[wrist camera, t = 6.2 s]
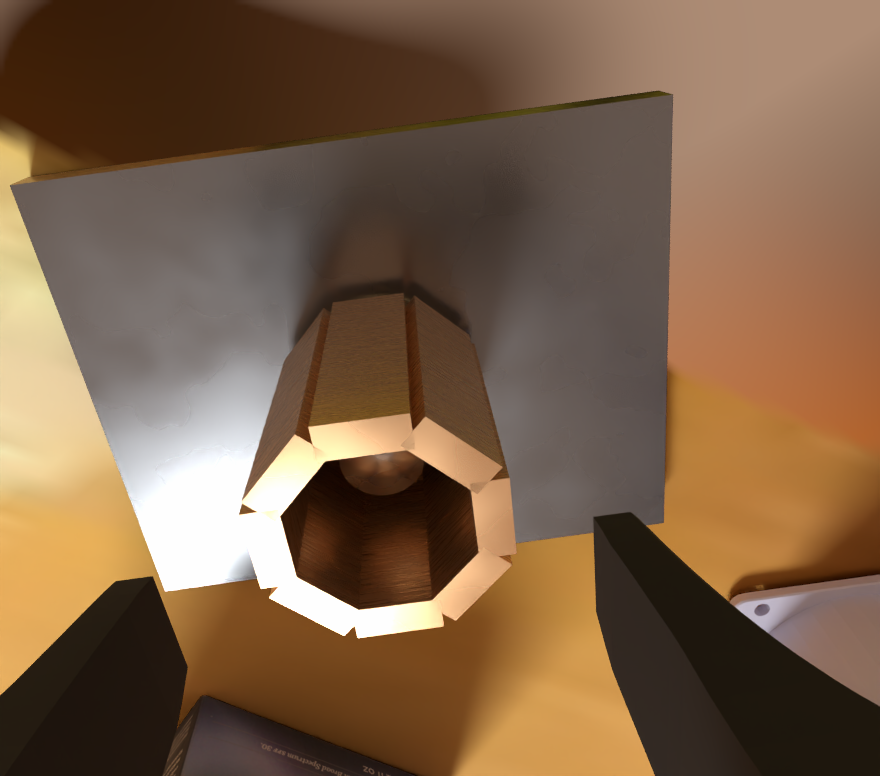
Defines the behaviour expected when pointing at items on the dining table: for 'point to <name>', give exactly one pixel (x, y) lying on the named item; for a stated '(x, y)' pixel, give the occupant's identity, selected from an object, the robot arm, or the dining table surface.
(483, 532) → the brown hollow prism
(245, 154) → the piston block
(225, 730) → the small box
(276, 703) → the dining table surface
